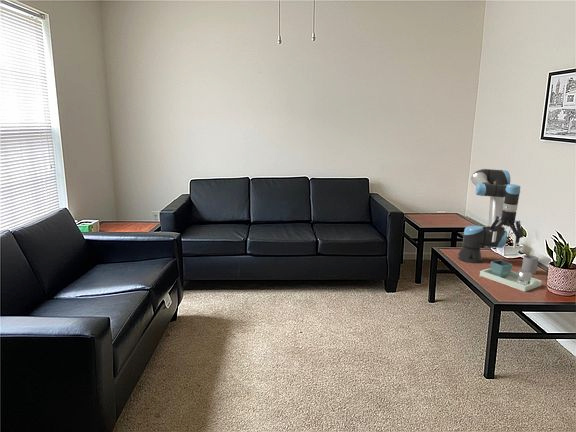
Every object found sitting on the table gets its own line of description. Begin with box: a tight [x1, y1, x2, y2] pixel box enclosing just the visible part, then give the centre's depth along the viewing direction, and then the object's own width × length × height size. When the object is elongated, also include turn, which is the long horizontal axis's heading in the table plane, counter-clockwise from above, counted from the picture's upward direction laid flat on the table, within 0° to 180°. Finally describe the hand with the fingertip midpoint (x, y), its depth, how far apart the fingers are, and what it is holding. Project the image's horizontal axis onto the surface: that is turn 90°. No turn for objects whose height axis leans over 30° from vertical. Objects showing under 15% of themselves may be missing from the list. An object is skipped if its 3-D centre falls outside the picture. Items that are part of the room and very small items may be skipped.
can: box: [516, 269, 533, 286], centre depth 256 cm, size 7×7×8 cm
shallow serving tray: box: [479, 267, 543, 292], centre depth 263 cm, size 28×18×4 cm, turn 34°
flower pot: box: [490, 259, 513, 278], centre depth 267 cm, size 9×9×9 cm
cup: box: [520, 254, 539, 275], centre depth 281 cm, size 8×8×10 cm
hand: (503, 244), depth 266 cm, fingers open, 13 cm apart
